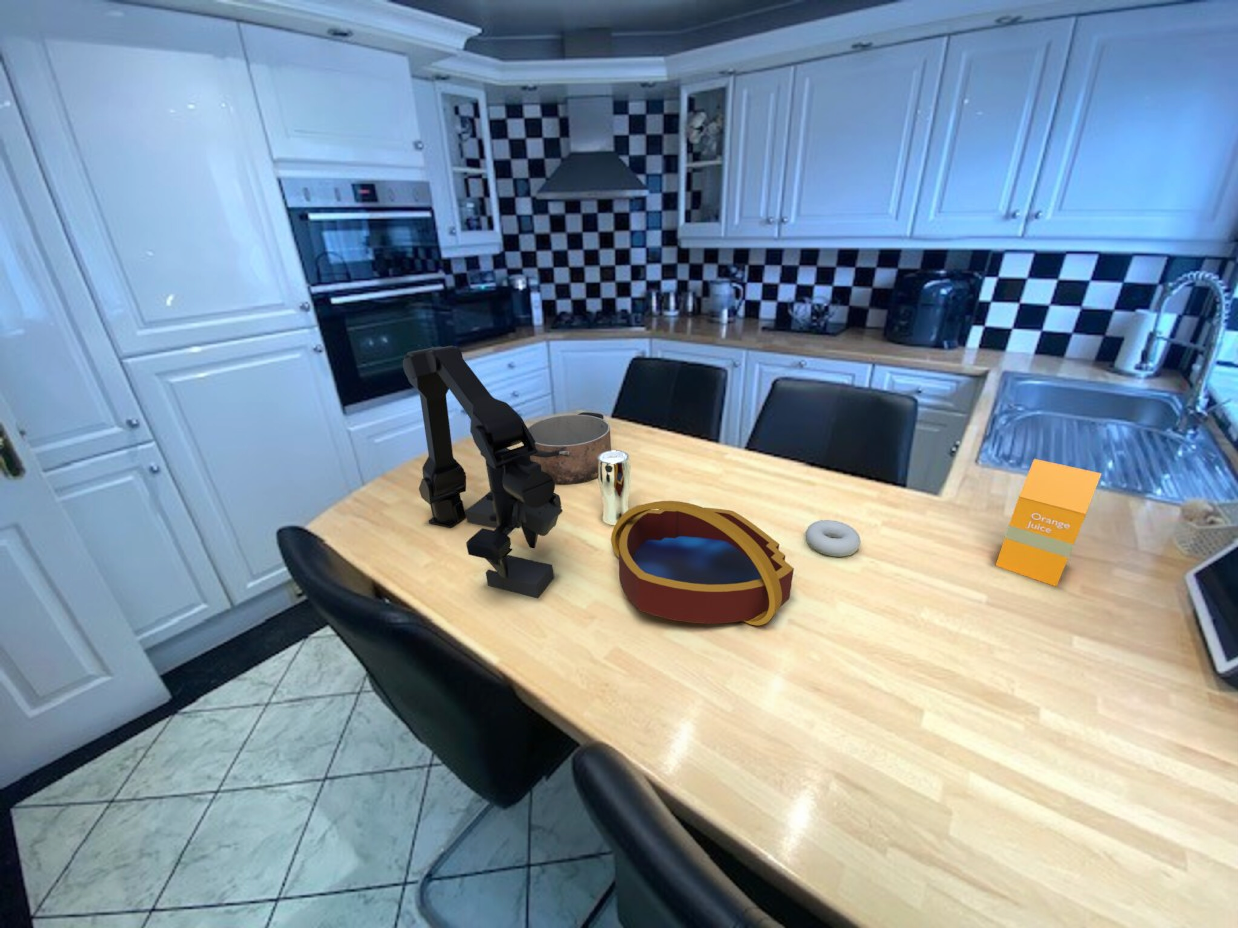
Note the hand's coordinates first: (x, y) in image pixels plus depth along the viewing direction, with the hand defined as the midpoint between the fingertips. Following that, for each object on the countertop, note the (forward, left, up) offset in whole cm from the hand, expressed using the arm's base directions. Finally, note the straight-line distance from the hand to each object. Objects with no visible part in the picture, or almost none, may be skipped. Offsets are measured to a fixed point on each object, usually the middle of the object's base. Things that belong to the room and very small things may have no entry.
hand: (519, 561), depth 91 cm
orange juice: (+85, +34, -5) cm, 92 cm away
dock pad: (-16, +18, -4) cm, 25 cm away
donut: (+52, +30, -5) cm, 60 cm away
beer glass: (+8, +26, -5) cm, 28 cm away
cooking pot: (-14, +47, -5) cm, 49 cm away
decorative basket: (+29, +10, -5) cm, 31 cm away
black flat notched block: (0, 0, -4) cm, 5 cm away
